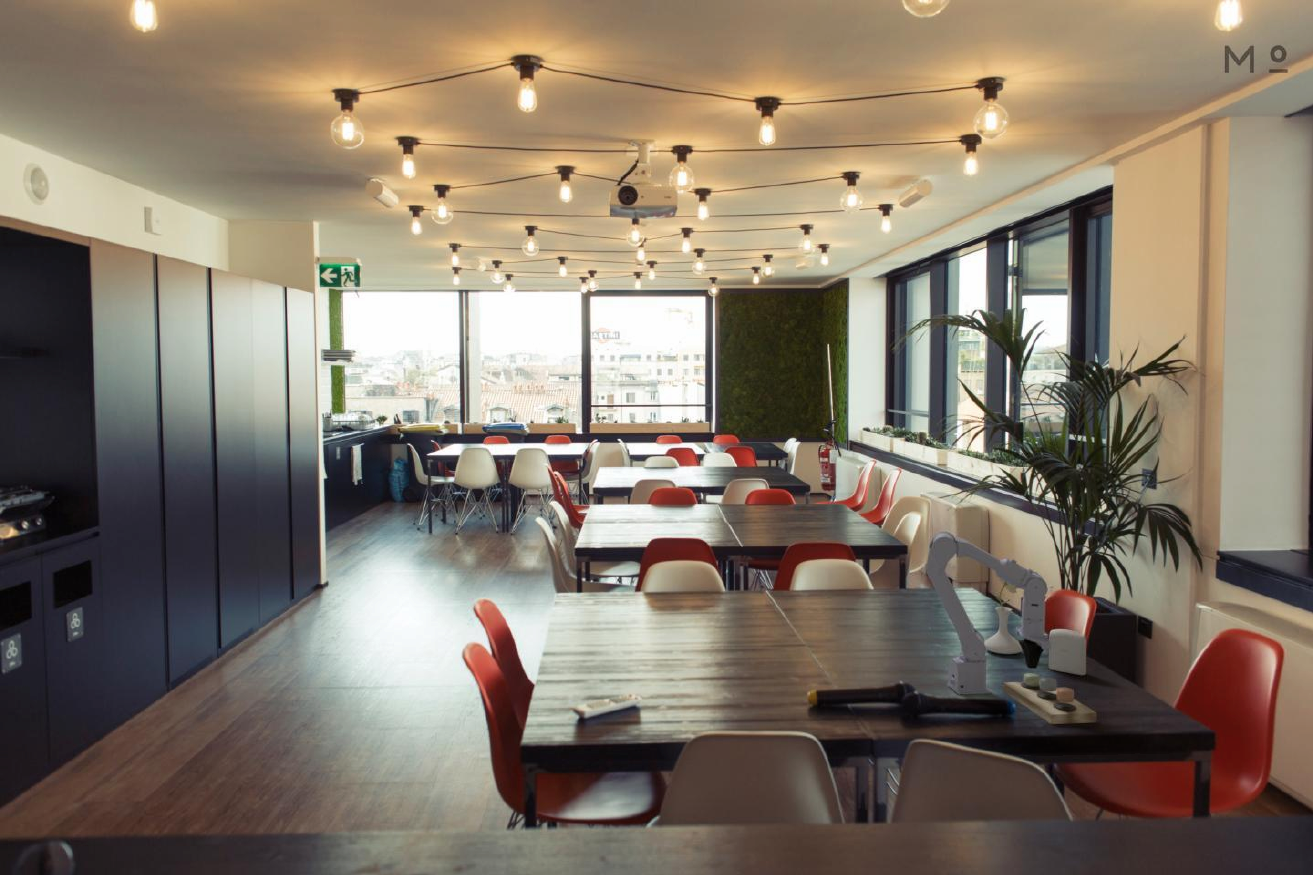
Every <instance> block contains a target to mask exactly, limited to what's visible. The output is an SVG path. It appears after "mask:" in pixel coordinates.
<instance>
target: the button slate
mask: <svg viewBox="0 0 1313 875" xmlns="http://www.w3.org/2000/svg"><path fill="white" fill-rule="evenodd" d="M1056 688H1057V679H1056V678H1053V677H1049V676H1048V677H1047V676H1042V677H1041V676H1040V689H1042V690H1045V691H1056Z"/></svg>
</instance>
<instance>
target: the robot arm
mask: <svg viewBox="0 0 1313 875" xmlns="http://www.w3.org/2000/svg"><path fill="white" fill-rule="evenodd" d="M955 555H956V558H959V559H960V558H969V559H971V560H974V561H975V562H977V563H979V564H981V565H983V566H985V567H988V568H990V569H992V570H993V571H994V572H995V576H996V578H998V579H999V578H1000V579H1002V580H1004V581H1006V582H1007V583H1009V584H1011V585H1013V586H1015V587H1016V588H1017V589H1020V590H1021V589H1022V590H1023V595H1022V596H1023V599H1022V602H1021V603H1022V605H1021V606H1022V607H1021V626H1016V627H1015V635H1017V636H1020V637H1021V638H1023V639H1021V640H1019V641H1018V642H1019V644H1020V645H1021V647H1022V650H1021V651H1022V653H1023V655H1024V656H1023V657H1024V660H1025V664H1026V668H1027V669H1037V667H1038V664H1039V662H1040V658H1041V657H1042V654H1043V653H1044V651H1045V650H1049V649H1051V642H1050V641H1049V634H1047V633H1045V628H1046V627H1045V624H1046V602H1045V600H1046V594H1047V593H1048V588H1049V587H1048V584H1047V582H1046V580H1045V578H1043V576H1041V574H1039V573H1038V572H1037V571H1034V570H1033V569H1031V568H1029V569H1027V568H1026V567H1024V566H1022V565H1020V564H1018V563H1017V562H1018V561H1017V560H1016V559H1014V558H1011V559H1009V558H1004V559H999V558H997V557H996V556H994V555H992V554H991V553H989V552H987V551H985V550H983V549H982V548H980V547H979V546H977V545H975V544H973V543H972V542H970V541H969V540H966V539H964V538H962V537H960V536H957V535H953V534H952V533H951V532H949V531H939V532H937V533H936V534H935V535H934V536H933V538H932V540H931V542H930V543H929V547H928V554H927V559H926V566H925V567H926V568H925V571H926V573H927V576H928V578H929V580H930V582H931V583H932V586H933V588H934V590H935V592H936V595H937V596H938V598H939V599H940V601H941V604H942V606H943V608H944V610H945V611H946V613H947V615H948V617H949V619H950V621H951V623H952V626H953V627H954V629H955V631H956V634H957V636H958V639H959V642H960V645H961V651H960V652H959V653H958V656H957V657H955V658H951V659H949V662H948V676H947V677H948V681H947V682H948V683H947V684H946V685H947V687H949V688H950V689H952V691H954V692H955V693H956V694H958V695H960V694H962V695H984V694H992V693H993V691H992V690H990V689H989V688H988V687H986V686H987V656H986V652H987V649H986V647H985V645H984V643H985V639H984V636H983V635H982V633H981V632H979V630H977V629H976V628H975V626H974V624H973V623H972V621H971V620H970V617H969V616H968V614H967V612H966V609H965V608H964V606H963V604H962V601H961V600H960V598H959V596H958V594H957V592H956V590H955V588H954V586H953V585H952V582H951V580H950V578H949V576H948V574H947V573H946V568H947V566H948V563H949V562H950V561H951V560H952V558H954V557H955Z"/></svg>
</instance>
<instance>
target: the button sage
mask: <svg viewBox="0 0 1313 875" xmlns="http://www.w3.org/2000/svg"><path fill="white" fill-rule="evenodd" d="M1040 678H1041V676H1040V675H1039V674H1036V673H1031V672H1027V673H1024V674H1023V682H1024V684H1025V685H1027V686H1031V687H1038V686H1040Z"/></svg>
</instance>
